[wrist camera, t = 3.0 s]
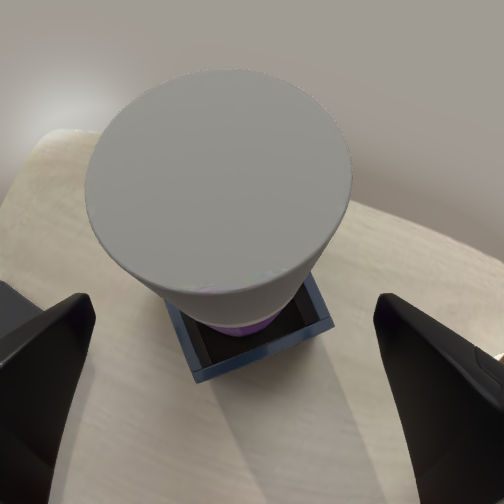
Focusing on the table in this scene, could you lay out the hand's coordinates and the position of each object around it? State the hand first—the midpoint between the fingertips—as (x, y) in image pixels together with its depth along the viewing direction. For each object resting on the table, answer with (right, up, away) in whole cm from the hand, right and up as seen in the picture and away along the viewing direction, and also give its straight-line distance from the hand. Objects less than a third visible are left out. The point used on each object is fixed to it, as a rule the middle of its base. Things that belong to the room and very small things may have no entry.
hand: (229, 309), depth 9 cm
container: (0, -1, +10) cm, 10 cm away
